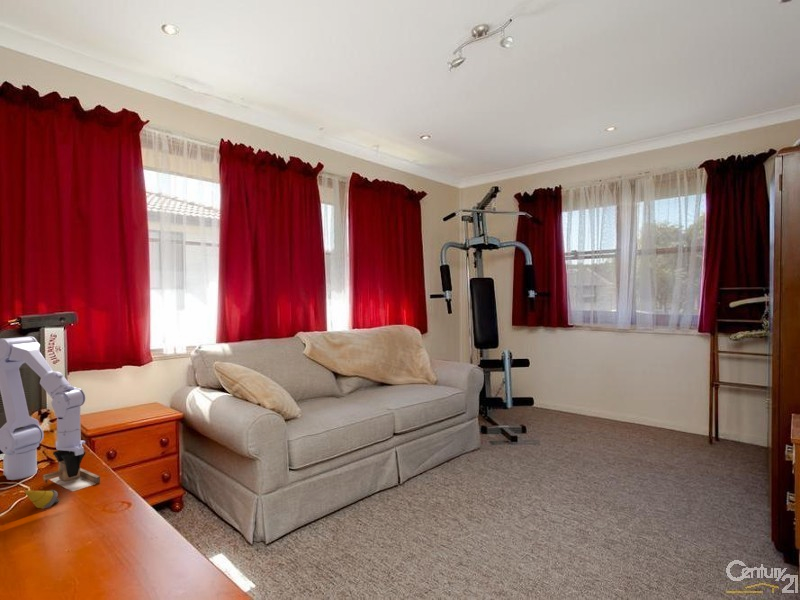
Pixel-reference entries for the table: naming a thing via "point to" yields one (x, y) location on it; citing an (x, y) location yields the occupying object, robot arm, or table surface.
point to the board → (79, 481)
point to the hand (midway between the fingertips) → (69, 474)
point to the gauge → (60, 473)
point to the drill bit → (42, 498)
